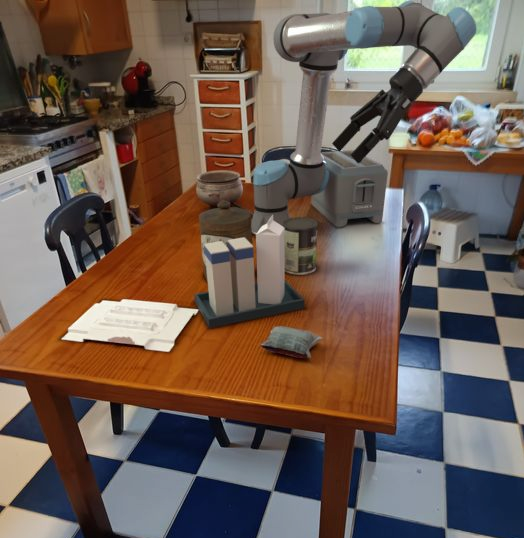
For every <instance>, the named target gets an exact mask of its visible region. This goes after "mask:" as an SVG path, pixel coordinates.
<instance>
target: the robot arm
mask: <svg viewBox="0 0 524 538" xmlns="http://www.w3.org/2000/svg"><path fill="white" fill-rule="evenodd" d="M476 33H477V24H476V21H475V19H474V17H473V16H472V14H471V13H470V12H469V11H467V10H466V9H465V8H463V7H461V6H457V7H454V8H452V9H451V10H450V11H449V12H447V13H446V15H444V14H440V13H438V12H436V11H434V10H432V9H431V8H428V7H426V6H425V5H424V4H422V3H420V2H416V1H412V0H406V1H404V2H402V3H401V4H399V5H398V6H373V5H365V6H361V7H359V6H358V7H356V8H354V9H353V10H349V11H343V12H337V13H329V12H320V13H319V12H317V13H316V12H315V13H294V14H289V15H287V16H285V17H284V18H282V19H280V20H279V22H278V23H277V24H276V26H275V28H274V31H273V39H272V40H273V46H274V49H275V51H276V53H277V54H278V56H280V58H282V59H283V60H285V61H288V62H292V63H298V67H299V69H300V70H301V71H302V82H301V91H300V92H301V93H300V101H299V112H298V122H297V130H296V131H297V132H296V139H295V140H296V141H295V150H294V151H293V152H292V153H290V156H289V163H288V162H287V161H286V160H281V159H276V160H268V161H264V162H262V163H259V164H258V165H257V166H256V167H254V169H253V176H252V177H253V179H252V183H253V205H254V211H253V212H252V210H251V211H250V210H249V209H247V208H245V207H243V206H241V205H238V204H237V203H236V202H234V203H233V204H231V206H233V207H236V208H242V209H245V210H247V211H249V212H250V214H251V228H252V237H256V234H257V232H258V231H259V229H260V228H261V227H262V226H263V225H265V224H267V222H268V220H269V219H270V218H271V216H272V215H273V221H275V222H277V223H278V224H280V225H281V226H282V222H283V221H285V220H287V219H290V218H291V216H290V213H289V208H288V207H289V204H288V203H289V201H290V200H294V199H299V198H305V197H311V196H313V195H315V194H318V193H320V192H322V191H323V190H324V189H325V187H326V185H327V183H328V179H329V171H327V169H328V166H327V164H326V162H325V161H324V157H323V156H322V155H321V153H322V146H323V145H322V144H323V137H324V130H325V123H326V116H327V115H326V114H327V108H328V102H329V94H330V86H331V78H332V75H333V74H334V73H335V72H336V71H337V70H338V65H339V61H340V60H342V59H344V58H345V57H346V55H347V53H348V50H356V49H362V50H364V49H373V48H386V47H387V48H388V47H389V48H391V47H407V46H410V47H413V48H415V49H414V51H413V52H412V53H411V54H410V55H409V56H408V58H407V59H406V60H405V61H404V62H403V63H402V66H401V67H399V68H398V69H397V70H396V71H395V72H394V74H393V75H392V76H391V77H390V78H389V81H388V83H389V86H390V89H388V91H385V90H384V89H381V90H380V91H379V92H378V93H377V94H376V95H374V97H373V98H371V99H370V100H369V101H368V102H367V103H365V104H364V105H363V106H362V107H360V108H359V109H358V110H357V111H356V112H355V113H353V114H352V115H351V116H350V117H349V119H350V123H348V125H346V127H345V128H344V129H343V130H342V131H341V132H340V134H339V135H338V136H337V137H336V138H335V139H334V141H333V142H332V143H331V144H332V145H333V147H334V148H335V149H336V151H339V152H340V151H343V149H344V148H345V147H346V146H347V144H348V143H349V142H350V141H351V140H352V139H353V138H354V137H355V136H356V135H357V133H358V132H360V131H361V128H362V127H363V126H365V125H366V124H368V123H370V122H371V121H372V120H374V119H376V118H377V117H380V118H379V120H378V122H377V124H376V126H375V127H374V128H372V129H371V132H369V134H368V135H367V136H366V137H365V138H364V139H363V140H362V141H361V142H360V143H359V144H358V146H357V147H356V148H355V149H353V150H354V151H353V152H352V153H351V154H350V155H351V156H352V158H353V159H354V160H355V161H356V162H357V163H358V164H359V163H360V162H361V161H362V160H363V159H364V157H365V156H366V157H367V155H368V154H369V153H370V152H371V151H372V150H373V149H374V148H375V147H376V146H377V145H378V144H379V143H380V141H381V142H382V141H383V140H386V141H388V140H389V139H390V138H391V137H392V135H393V133H394V132H395V130H396V129H397V127H398V125H399V124H400V122H401V120H402V119H403V117H404V116H405V114H406V113H407V111H409V109H410V107H412V105H413V104H414V102H415V101H416V100H417V99H418V98H419V97H420V96H421V95H422V94H423V92H424V90H426V89H427V88H428V87H429V86H430V85H432V84H434V83H435V80H436V79H437V78H438V76H439V75H441V73H442V72H443V71H444V70H445V69H446V68H447V67H448V66H449V64H450V63H451V62H452V61H454V60H455V59H456V57H457V56H458V55H460V53H461V52H463V51H464V50H465V48H466V47H467V45H468V44H470V42H471V41H472V40H473V38H474V37H475V36H476Z"/></svg>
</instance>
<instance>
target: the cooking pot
mask: <svg viewBox="0 0 524 538" xmlns="http://www.w3.org/2000/svg"><path fill="white" fill-rule="evenodd" d="M240 177H241V173H240V172H237V171H235V170H226V169H225V170H223V169H221V170H219V169H217V170H211V171H209V170H208V171H204V172H201V173H199V174H197V175H196V179H197V181H196V187H195V191H196V195H197V197H198V199H199V200H200V201H201V202H202V203H204V204H206V205H208V206H210V207H212V208H213V209H215V208H219V207H218V203H219V202H221V201H222V200H226V201H228V202H229V203H230V206H232V204H233V203H236V202H237V201H238V200H240V199H241V197H242V195H243V192H244V187H243V184H242V180H241V179H240Z"/></svg>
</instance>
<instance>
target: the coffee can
mask: <svg viewBox="0 0 524 538" xmlns="http://www.w3.org/2000/svg"><path fill="white" fill-rule="evenodd" d="M282 226H283V227H284V228H285V273H287V274H290V275H294V276H304V275H309V274H312V273H314V272H315V271H316V270H317V247H318V226H319V222H318V220H316V219H314V218H310V217H302V216H301V217H300V216H299V217H298V216H297V217H290V219H287V220H285V221H283V222H282Z"/></svg>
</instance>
